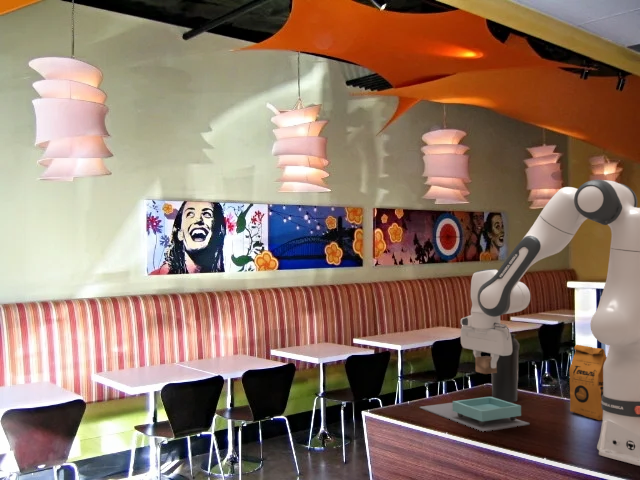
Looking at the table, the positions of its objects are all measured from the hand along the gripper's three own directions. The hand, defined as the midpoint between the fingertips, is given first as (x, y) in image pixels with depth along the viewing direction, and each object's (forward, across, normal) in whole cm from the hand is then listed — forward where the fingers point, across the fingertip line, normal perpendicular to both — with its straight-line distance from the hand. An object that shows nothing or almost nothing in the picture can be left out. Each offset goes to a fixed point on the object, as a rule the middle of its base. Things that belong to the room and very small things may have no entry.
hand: (486, 366), depth 204 cm
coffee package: (+17, -10, -34) cm, 39 cm away
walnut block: (+2, 0, 0) cm, 2 cm away
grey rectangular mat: (+17, +7, 0) cm, 18 cm away
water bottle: (+17, +20, -25) cm, 36 cm away
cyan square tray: (+17, 0, 0) cm, 17 cm away
